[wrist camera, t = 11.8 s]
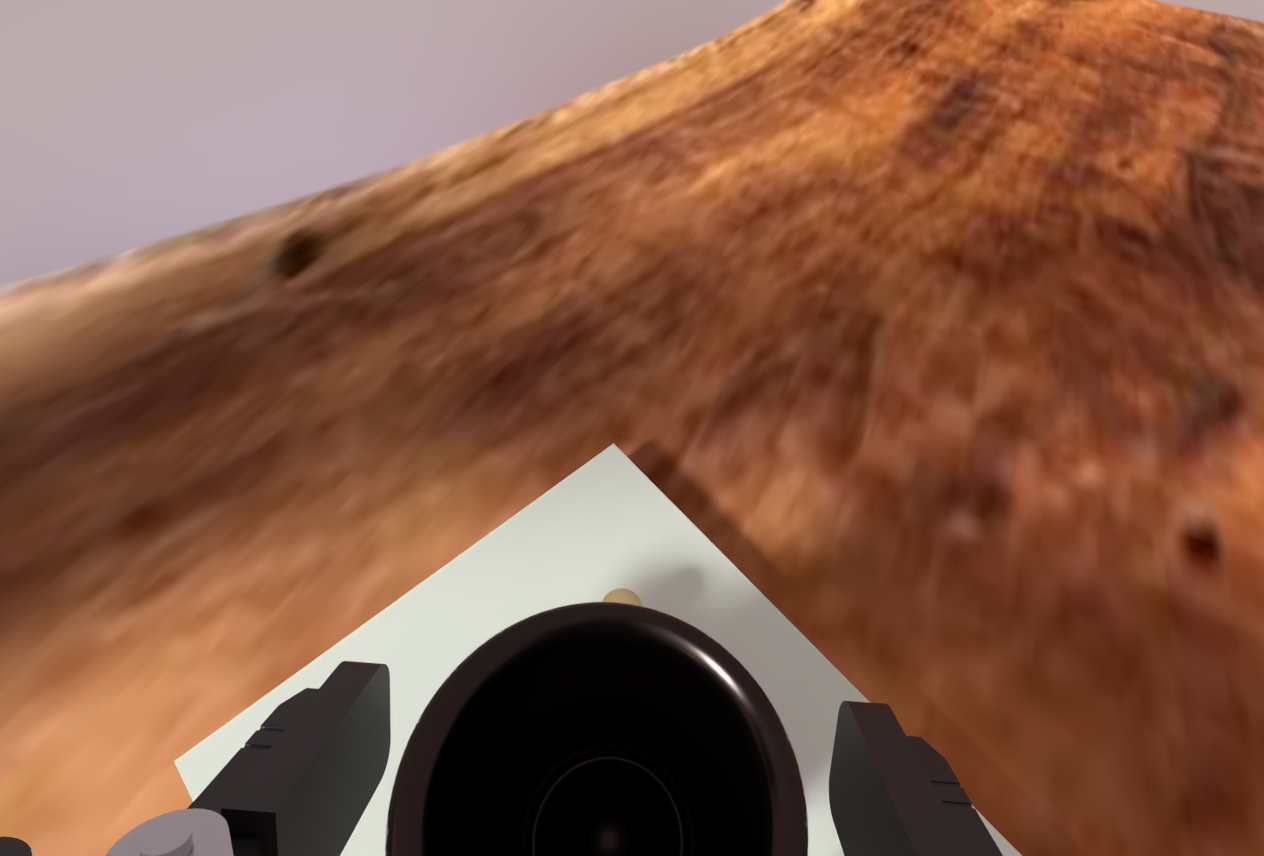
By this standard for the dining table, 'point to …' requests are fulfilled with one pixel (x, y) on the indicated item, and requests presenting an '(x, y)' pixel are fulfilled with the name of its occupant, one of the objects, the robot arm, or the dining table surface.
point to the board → (563, 575)
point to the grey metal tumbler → (598, 747)
